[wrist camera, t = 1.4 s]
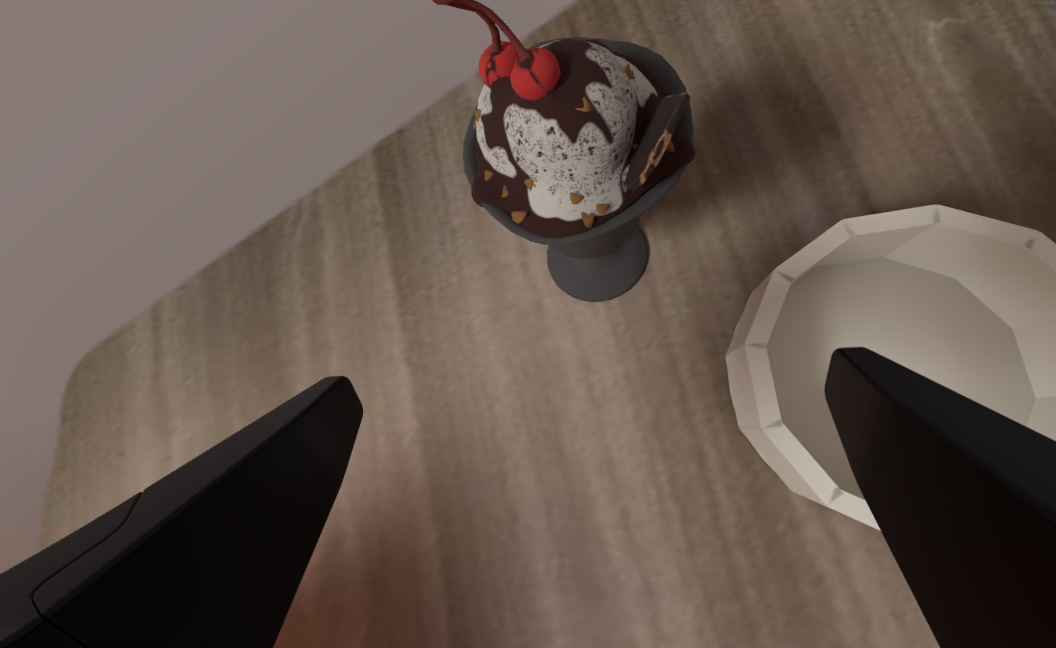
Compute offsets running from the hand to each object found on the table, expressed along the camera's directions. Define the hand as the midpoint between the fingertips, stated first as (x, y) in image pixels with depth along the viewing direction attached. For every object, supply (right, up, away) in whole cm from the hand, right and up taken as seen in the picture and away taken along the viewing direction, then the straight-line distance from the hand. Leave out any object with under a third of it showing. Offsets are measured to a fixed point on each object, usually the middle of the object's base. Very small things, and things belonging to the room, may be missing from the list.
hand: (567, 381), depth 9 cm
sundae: (+3, +5, +14) cm, 15 cm away
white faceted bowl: (+14, -1, +10) cm, 17 cm away
